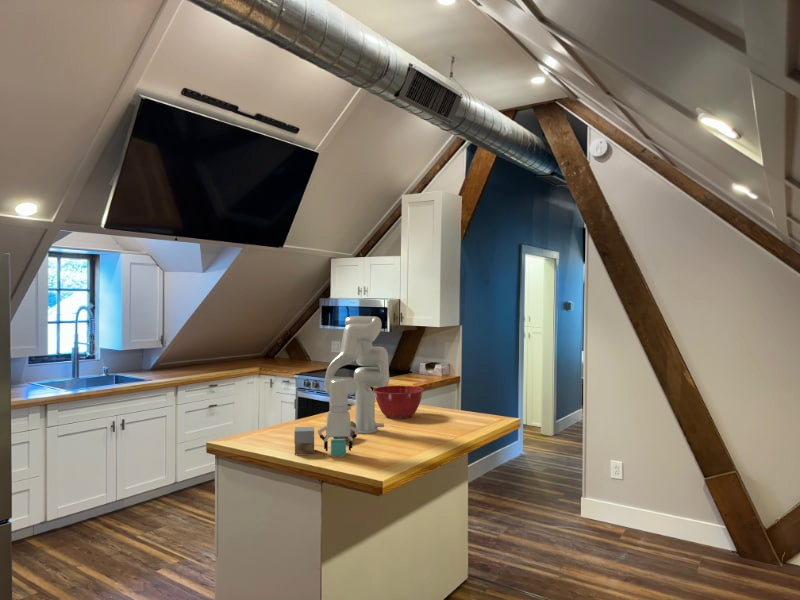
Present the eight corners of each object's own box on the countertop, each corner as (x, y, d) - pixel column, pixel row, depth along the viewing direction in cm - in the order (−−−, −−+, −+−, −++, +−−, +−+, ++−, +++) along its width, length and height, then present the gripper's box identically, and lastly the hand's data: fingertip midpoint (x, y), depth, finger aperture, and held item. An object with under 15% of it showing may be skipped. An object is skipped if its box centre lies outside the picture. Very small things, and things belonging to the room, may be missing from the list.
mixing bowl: (367, 420, 306) (367, 391, 306) (380, 410, 334) (380, 384, 334) (418, 422, 300) (418, 393, 300) (427, 412, 328) (427, 386, 328)
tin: (337, 444, 253) (337, 425, 254) (331, 443, 255) (331, 424, 255) (357, 437, 266) (357, 420, 266) (351, 437, 268) (351, 419, 268)
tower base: (314, 449, 245) (314, 438, 245) (314, 454, 237) (314, 442, 237) (295, 450, 244) (295, 438, 244) (294, 455, 236) (294, 443, 236)
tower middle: (314, 438, 245) (314, 426, 245) (313, 442, 237) (313, 430, 237) (295, 438, 244) (295, 427, 244) (294, 443, 236) (294, 431, 236)
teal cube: (345, 452, 240) (345, 438, 240) (345, 456, 234) (346, 442, 234) (330, 453, 239) (330, 439, 239) (331, 457, 233) (331, 442, 233)
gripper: (358, 407, 241) (358, 447, 241) (317, 408, 239) (317, 448, 239) (360, 410, 234) (359, 451, 234) (317, 411, 231) (317, 453, 231)
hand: (338, 450), depth 236 cm, fingers open, 9 cm apart
